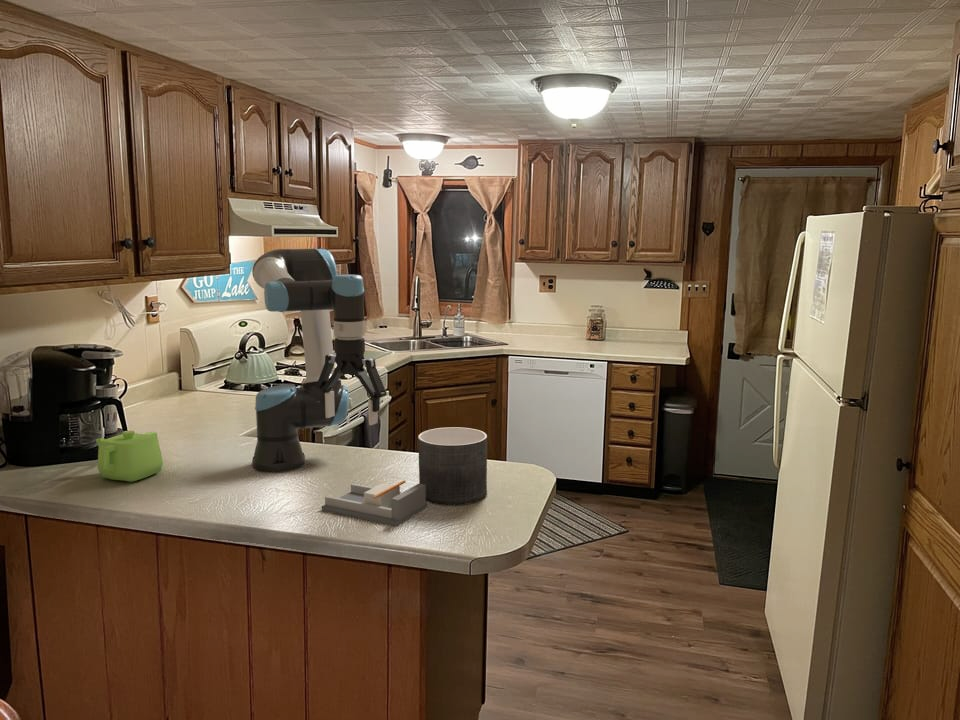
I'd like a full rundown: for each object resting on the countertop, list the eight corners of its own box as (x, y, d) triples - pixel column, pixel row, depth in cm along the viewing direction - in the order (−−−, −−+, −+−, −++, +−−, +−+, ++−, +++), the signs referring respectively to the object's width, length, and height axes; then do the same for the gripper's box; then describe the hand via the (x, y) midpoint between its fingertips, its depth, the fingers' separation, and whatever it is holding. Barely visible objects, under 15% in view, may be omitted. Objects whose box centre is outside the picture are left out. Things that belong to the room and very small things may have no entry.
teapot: (71, 482, 199) (67, 436, 197) (129, 462, 218) (125, 420, 215) (123, 490, 193) (119, 443, 191) (177, 468, 211) (174, 425, 209)
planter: (437, 479, 201) (436, 424, 199) (497, 487, 195) (497, 431, 192) (406, 500, 185) (405, 440, 183) (470, 510, 178) (470, 448, 176)
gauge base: (321, 510, 178) (321, 486, 177) (356, 492, 191) (355, 470, 190) (396, 526, 168) (396, 501, 167) (427, 506, 181) (427, 483, 180)
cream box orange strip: (354, 511, 174) (354, 492, 173) (385, 494, 186) (385, 477, 185) (375, 515, 171) (375, 496, 171) (405, 498, 183) (405, 480, 182)
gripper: (300, 335, 182) (303, 417, 186) (381, 343, 170) (383, 430, 174) (320, 331, 188) (322, 410, 192) (399, 339, 177) (400, 423, 181)
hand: (351, 420), depth 183 cm, fingers open, 13 cm apart
